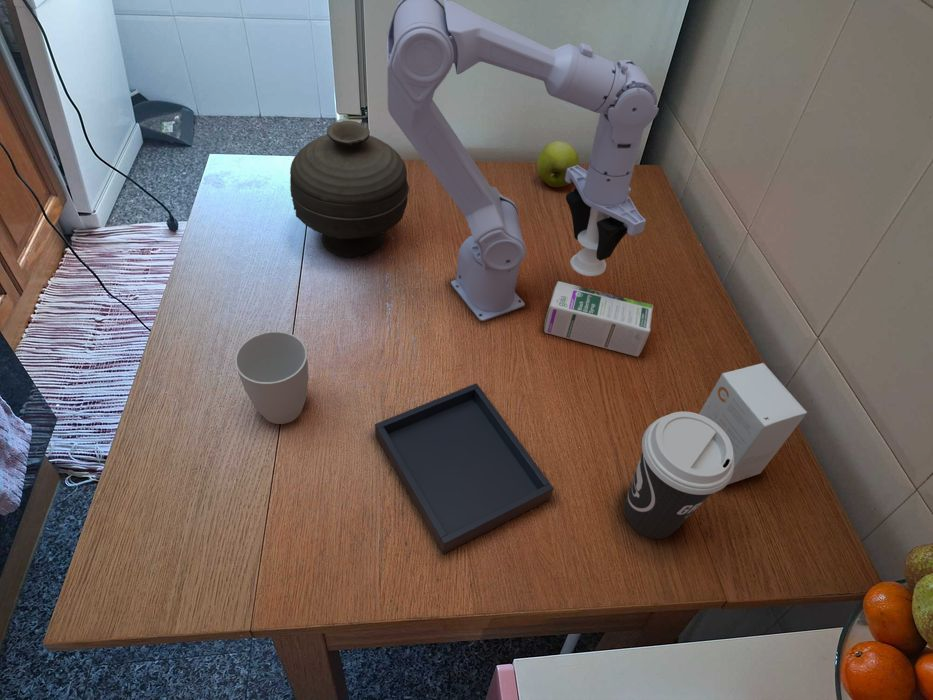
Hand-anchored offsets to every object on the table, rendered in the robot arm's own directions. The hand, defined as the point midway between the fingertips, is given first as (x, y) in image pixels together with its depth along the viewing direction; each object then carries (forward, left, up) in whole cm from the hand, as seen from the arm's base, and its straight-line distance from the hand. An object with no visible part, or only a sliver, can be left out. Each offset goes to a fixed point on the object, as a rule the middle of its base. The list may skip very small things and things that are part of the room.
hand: (592, 247), depth 93 cm
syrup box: (+12, +3, -8) cm, 15 cm away
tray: (+18, -31, -10) cm, 38 cm away
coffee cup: (+34, -14, -11) cm, 38 cm away
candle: (0, 0, -4) cm, 4 cm away
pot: (-28, -25, -11) cm, 39 cm away
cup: (0, -47, -11) cm, 49 cm away
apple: (-28, +15, -11) cm, 34 cm away
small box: (+32, -1, -11) cm, 34 cm away
